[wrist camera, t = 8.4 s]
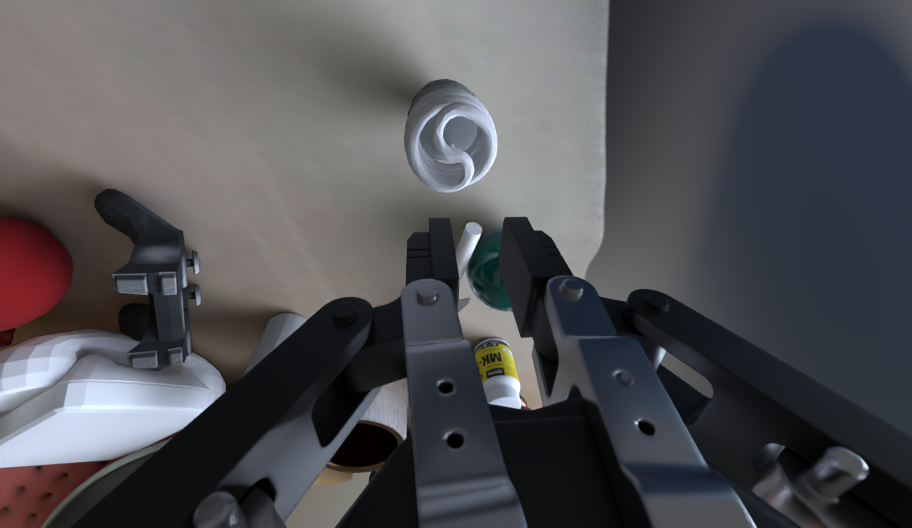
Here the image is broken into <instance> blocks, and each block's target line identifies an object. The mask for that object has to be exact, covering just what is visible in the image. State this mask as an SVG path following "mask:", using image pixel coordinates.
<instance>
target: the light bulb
mask: <svg viewBox="0 0 912 528" xmlns="http://www.w3.org/2000/svg"><path fill="white" fill-rule="evenodd" d="M404 144H405V151H406V155H407V159H408V162H409V165H410V166H411V168H412V170H413V172H414V174H415V175H416V176H417V177H418V178H419V179H420V181H422V182H423V183H424V184H425V185H427V186H428V187H430V188H432V189H434V190H436V191H439V192H443V193H448V192H455V191H458V190H461V189H462V188H464V187H465V186H468V185H470V184H472V183H474V182H476V181H478V180H479V179H480V178H482V177H483V176H484V175H485V174H486V173H487V172H488V170H489V169H490V167H491V166H492V164H493V161H494V159H495V157H496V153H497V135H496V131H495V127H494V123H493V121H492V119H491V117H490V115H489V113H488V111H487V110H486V108H485V107H484V106H483V104H482V103H481V102H480V101H479V100H478V99H476V97H475V95H474V94H473V93H472V92H471V91H469V90H468V89H467V88H466V87H465V86H464V85H462V84H460V83H458V82H456V81H453V80H448V79H442V80H435V81H432V82H429V83H428V84H426V85H425V86H424V87H423V88H422V89H420V90H419V91H418V93H417V94H416V96H415V97H414V99H413V101H412V104H411V107H410V110H409V112H408V119H407V122H406V126H405V134H404ZM433 158H434V159H437V160H445V161H447V160H453V161H455V162H458V163H456V164H445V163H441V162H438V161H436V160H434V159H433Z"/></svg>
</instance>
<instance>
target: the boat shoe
mask: <svg viewBox="0 0 912 528" xmlns="http://www.w3.org/2000/svg"><path fill="white" fill-rule="evenodd" d="M172 438H173V437H172ZM172 438H170V439H168V440H165V441H162V442H160V443H157V444H155V445H152V446H150V447H147V448H145V449H142V450H140V451H138V452H135V453H133V454H130V455H128V456H126V457H124V458H122V459H119V460H117V461H115V462H114V463H112V464H110V465H108V466H106V467H105V468H103V469H102V470H100V471H98V472H97V473H96V474H94V475H93V476H91V477H90V478H88V479H87V480H86V481H85V482H83V483H82V484H81V485H80V486H78V487H77V488H76V489H75V490H74V491H72V492H71V493H70V494H69V495H68V496H67V497H66V498H65V499H64V500H63V501H62V502H61V503H60V504H59V505H58V506H57V507H56V508H55V509H54V510H53V512H52V513H51V514H50V515H49V517H48V518H47V519H46V521H45V522H44V523H43V525H42V526H41V528H70V527H71V526H72V525H73V524H74V523H76V522H77V521H78V520H79V519H80V518H81V517H82V516H84V515H85V514H86V513H87V512H88V511H89V510H91V509H92V508H93V507H94V506H95V505H96V504H97V503H99V502H100V501H101V500H102V499H103V498H104V497H105V496H107V495H108V494H109V493H110V492H111V491H112V490H113V489H115V488H116V487H117V486H118V485H119V484H120V483H121V482H123V481H124V480H125V479H126V478H127V477H128V476H129V475H131V474H132V473H133V472H134V471H135V470H136V469H137V468H139V467H140V466H141V465H142V464H143V463H144V462H145V461H147V460H148V459H149V458H150V457H151V456H152V455H154V454H155V453H156V452H157V451H158V450H159V449H160V448H162V447H163V446H164V445H165V444H166V443H167V442H168V441H170V440H171V439H172Z"/></svg>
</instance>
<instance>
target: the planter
mask: <svg viewBox="0 0 912 528" xmlns="http://www.w3.org/2000/svg"><path fill="white" fill-rule="evenodd" d="M407 407H408V392H407V378H404V379H401V380H398V381H395V382H392V383H390V384H387V385H384V386H382V388H381V390H380V392H379V394H378V395H377V397H376V398H375V399H374V401H373V402H372V403H371V405H370V406H369V408H368V409H367V410H366V412H365V413H364V414H363V416H362V417H361V418H360V420H359V421H358V423H357V424H356V425H355V427H354V428H353V429H352V431H351V432H350V433H349V435H348V436H347V438H346V439H345V440H344V442H343V443H342V444H341V446H340V447H339V449H338V450H337V451H336V453H335V454H334V455H333V457H332V458H331V459H330V461H329V462H328V464H327V465H326V466H325V467H326V468H328V469H331V470H335V471H341V472H350V473H360V472H370V471H375V470H379V469H380V468H381V467H382V465H383V464H384V463H385V461H386V460H387V459H388V457H389V456H390V455H391V454H392V452H393V451H394V450H395V449H396V447H397V446H398V445H399V444H400V443H401V442H402V441H403V440H404V439H406V435H407Z"/></svg>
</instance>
